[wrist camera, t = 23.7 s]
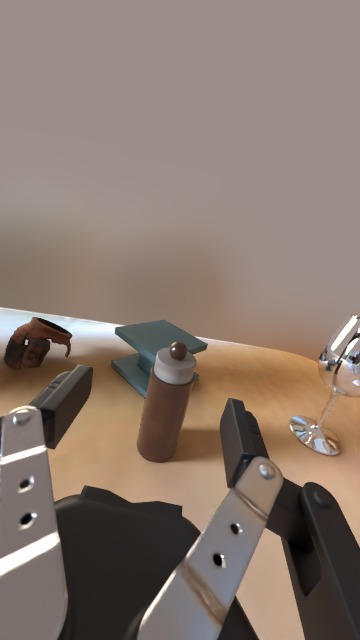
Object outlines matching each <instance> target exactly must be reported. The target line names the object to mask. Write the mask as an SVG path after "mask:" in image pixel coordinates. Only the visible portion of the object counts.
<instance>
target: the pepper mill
mask: <svg viewBox="0 0 360 640" xmlns="http://www.w3.org/2000/svg"><path fill="white" fill-rule="evenodd" d="M195 366H196V359H195V357H194V356H193V355H192V354H191V353H189V352H188V349H187V346H186V345H185V344H184V343H183V342H179V341H177V342H174V343H173V344H172V345H171V346H170V347H169V348H163V349H161V350H159V351H158V353H157V356H156V361H155V364H154V365H153V366H152V368H151V373H150V378H149V383H148V388H147V393H146V399H145V404H144V409H143V414H142V419H141V424H140V429H139V435H138V440H137V448H138V451H139V453H140V454H141V455H142V456H143V457H144V458H145V459H147V460H149V461H151V462H157V463H158V462H164V461H167V460H168V459H170V458H171V457H172V456H173V454H174V452H175V449H176V446H177V442H178V438H179V435H180V431H181V427H182V424H183V420H184V417H185V413H186V409H187V406H188V402H189V398H190V395H191V391H192V387H193V384H194V380H195V375H194V370H195Z"/></svg>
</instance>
